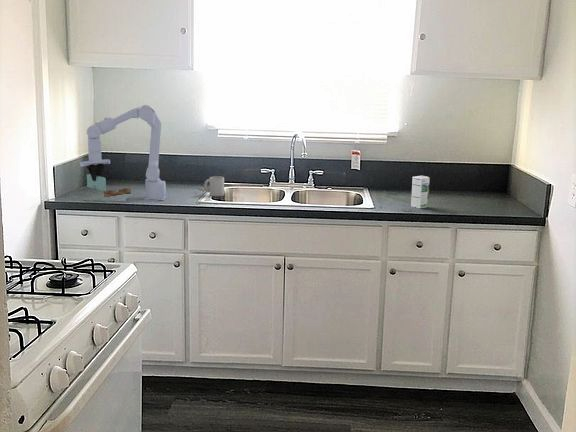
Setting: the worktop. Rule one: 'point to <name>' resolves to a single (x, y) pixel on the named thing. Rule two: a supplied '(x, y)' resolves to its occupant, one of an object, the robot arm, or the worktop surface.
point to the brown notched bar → (114, 193)
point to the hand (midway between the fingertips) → (96, 180)
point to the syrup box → (420, 191)
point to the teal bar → (96, 182)
